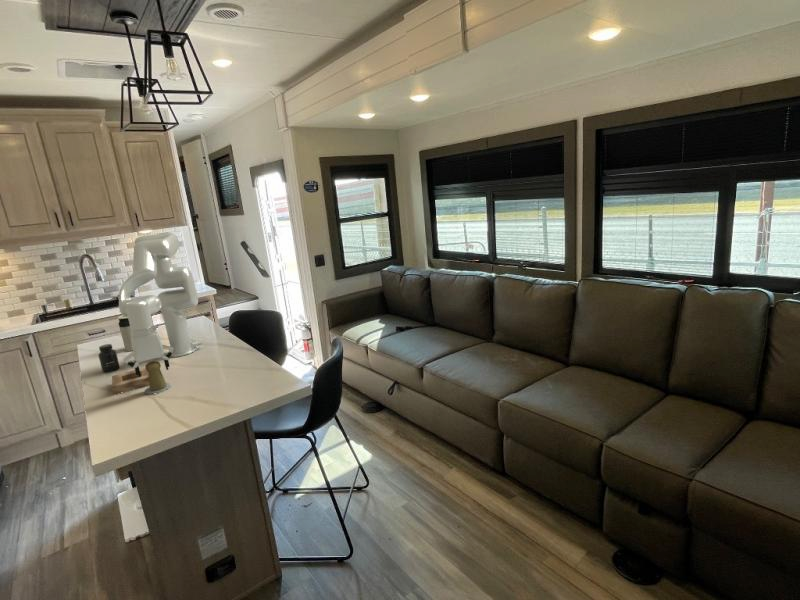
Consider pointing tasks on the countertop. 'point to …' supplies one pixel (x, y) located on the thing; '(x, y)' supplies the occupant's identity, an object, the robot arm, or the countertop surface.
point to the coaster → (156, 391)
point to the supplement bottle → (108, 358)
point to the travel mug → (125, 332)
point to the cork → (155, 376)
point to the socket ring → (129, 381)
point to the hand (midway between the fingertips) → (153, 372)
